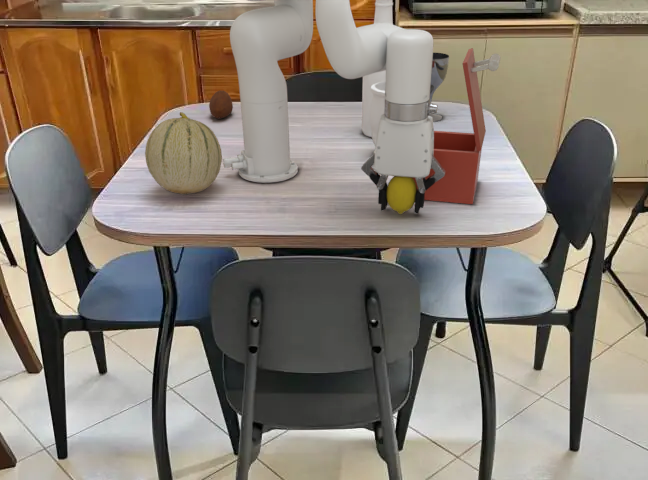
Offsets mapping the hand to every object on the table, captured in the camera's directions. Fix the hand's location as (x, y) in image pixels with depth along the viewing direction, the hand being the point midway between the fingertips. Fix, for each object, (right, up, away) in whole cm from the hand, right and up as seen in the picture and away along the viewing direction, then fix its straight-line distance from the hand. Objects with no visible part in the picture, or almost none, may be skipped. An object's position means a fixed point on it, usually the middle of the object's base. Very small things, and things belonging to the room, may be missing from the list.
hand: (400, 208), depth 126 cm
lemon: (0, -1, +1) cm, 1 cm away
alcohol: (0, +27, +41) cm, 49 cm away
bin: (+9, +6, +10) cm, 14 cm away
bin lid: (+13, +20, -1) cm, 24 cm away
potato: (-41, +36, +54) cm, 77 cm away
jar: (+1, +17, +27) cm, 32 cm away
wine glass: (+13, +34, +51) cm, 62 cm away
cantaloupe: (-42, +6, +12) cm, 44 cm away
